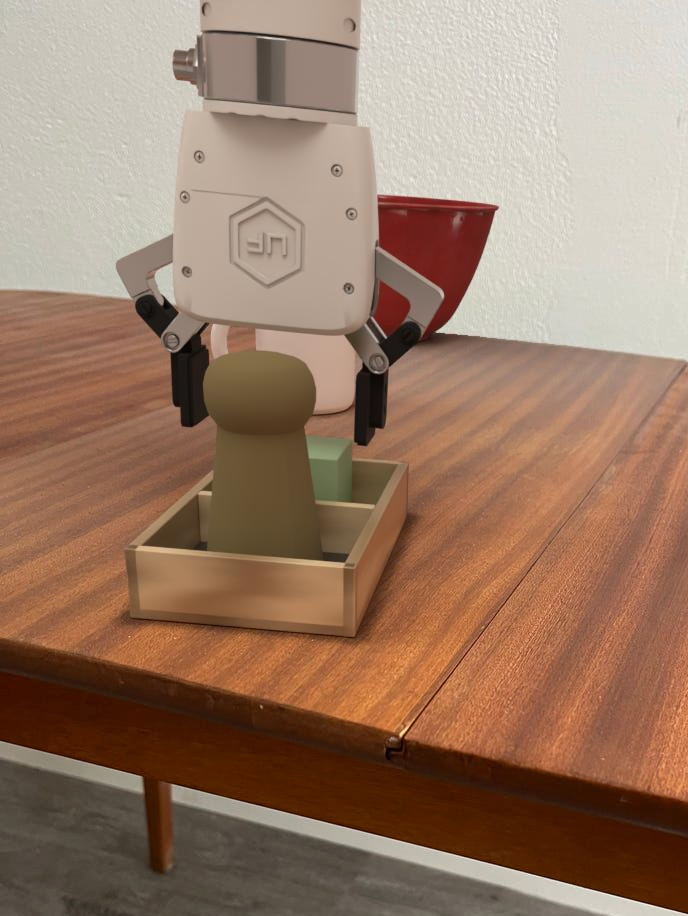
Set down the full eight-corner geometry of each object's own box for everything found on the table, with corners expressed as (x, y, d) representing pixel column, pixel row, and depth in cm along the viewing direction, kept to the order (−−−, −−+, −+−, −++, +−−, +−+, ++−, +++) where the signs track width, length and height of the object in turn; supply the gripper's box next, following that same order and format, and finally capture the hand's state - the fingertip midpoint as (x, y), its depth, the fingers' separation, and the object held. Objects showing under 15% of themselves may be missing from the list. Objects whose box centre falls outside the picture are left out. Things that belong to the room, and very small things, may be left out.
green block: (258, 530, 58) (255, 452, 56) (278, 506, 62) (276, 432, 60) (337, 537, 57) (337, 459, 56) (352, 512, 62) (352, 438, 60)
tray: (130, 618, 48) (123, 548, 47) (238, 502, 64) (236, 448, 63) (354, 637, 48) (355, 568, 46) (407, 516, 64) (408, 461, 62)
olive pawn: (194, 559, 53) (181, 342, 49) (308, 549, 56) (306, 341, 51) (216, 604, 48) (203, 367, 44) (340, 591, 51) (340, 365, 46)
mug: (218, 417, 83) (212, 284, 79) (209, 395, 90) (202, 271, 86) (363, 415, 87) (365, 287, 82) (343, 393, 94) (343, 274, 89)
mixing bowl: (261, 311, 134) (257, 183, 128) (477, 321, 138) (484, 196, 131) (240, 351, 109) (234, 193, 102) (504, 361, 113) (515, 209, 106)
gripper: (74, 64, 47) (102, 431, 54) (448, 100, 46) (424, 465, 54) (136, 74, 54) (153, 400, 61) (463, 106, 53) (440, 430, 61)
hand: (280, 430), depth 58 cm, fingers open, 9 cm apart
